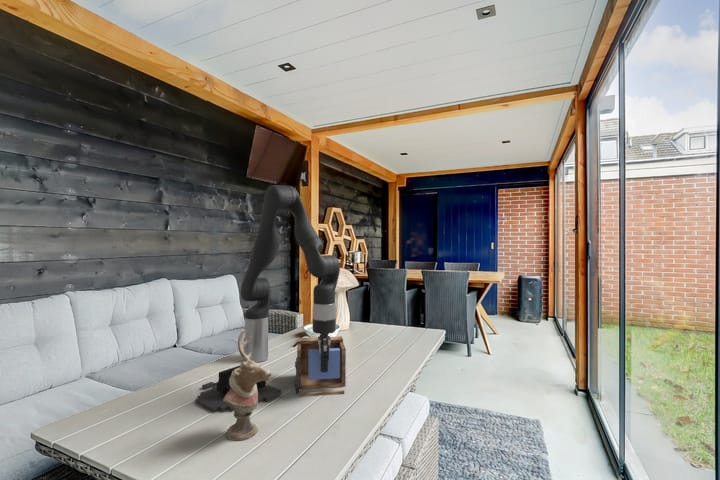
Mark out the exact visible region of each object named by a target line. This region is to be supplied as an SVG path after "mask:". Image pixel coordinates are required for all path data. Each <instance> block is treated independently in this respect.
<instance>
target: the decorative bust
mask: <svg viewBox="0 0 720 480" xmlns="http://www.w3.org/2000/svg"><path fill="white" fill-rule="evenodd" d="M244 336H245V330H244V331H241V332H240V333H239V335H238V342H237V348H238V351H239V354H240V356H241V357H242V359H243V361H242V362H241V363H240V365H239V366H240V367H239V368H237V369H235V370H233V371H232V374H231V377H230V379H229V384H230V386H231V389H230V390H229V392H228V393H227V394H226V396H225V397H224V399H223V401H224V402H227V403H230V404H232V405H233V407H234V411H233V412H234V413H233V417H234V418H235V419H236V421H235V423H233V424H232V425H230V426H229V427H228V429H227V431H226V435H227V437H228V438H229V439H230V440H233V441H245V440H249V439H251V438H253V437H254V436H255V435H256V434H257V433H258V432H259V426H258V425H257V423H255V422H253V421H251V417H250V416H252V414H253V412H254V411H255V410H256V409H257V408H258V404H259V403H258V390H257V385H256V383H257V382H260V381H262V380H263V381H266V382H269V381H270V379H271V378H272V373H271V371H270V370H269V369H266V368H264V367H261V366H260V362H254V361H253V360H250V358H252V357H251V354H252V353H253V352H250V353H249V354H248V355H246V354H245V353H244V347H245V345H246V344H247V343H248V342H249V341H250V339H251V338H252V336H250V337H249V338H247V339H246V340H245V342H244V341H243V339H244ZM242 341H243V342H242ZM244 360H245V362H244Z"/></svg>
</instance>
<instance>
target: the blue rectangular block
mask: <svg viewBox="0 0 720 480" xmlns="http://www.w3.org/2000/svg"><path fill="white" fill-rule="evenodd" d="M324 356H327V355H324ZM324 356H323V357H324ZM320 358H321V354H320V353H319V349H309V380H317V379H334V378H340V349H339V348H330V353H329V360H328V372H321V360H320Z"/></svg>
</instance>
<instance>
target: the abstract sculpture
mask: <svg viewBox="0 0 720 480" xmlns="http://www.w3.org/2000/svg"><path fill="white" fill-rule="evenodd" d="M239 367H240V365H237V366H234V367H231V368H228V369H224V370H222V371H219V372H218V381H216V382H213V381H210V382H206V383H205V384H202V385H201V389H202V390H203V391H201V392H200V393H199V395H197V398H195V402H194V403H195V404H196V405H197V406H200V407H201V408H203V409H205V410H207V411H210V412H211V413H212V414H215V413H217V411H218V412H220V413H222V412H223V413H225V412H226V411H228V412H230V413H232V412H234V407H233V405H232V404H230V403H227V402H224V401H223V399H224V397H225V396H226V394H227V393H228V392H229V390H230V389H231V386H230V384H229V379H230V377H231V374H232V371H233V370H235V369H237V368H239ZM256 385H257V390H258V404H259V403H263V402H265V403H269V402H271V401H274V400H276V399H279V398H280V397H281V394H282V390H281V389H280V388H278V387H276V386H273V385H270V384H267V381H263V380H262V381H260V382H257V383H256Z"/></svg>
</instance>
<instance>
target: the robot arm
mask: <svg viewBox="0 0 720 480" xmlns="http://www.w3.org/2000/svg"><path fill="white" fill-rule="evenodd" d="M261 210H262V211H261V217H260V223H259V226H258V230H257V234H256V236H255V240H254V243H253V247H252V252H251V256H250V259H249V263H248V266H247V269H246V272H245V274H244V276H243V280H242V282H241V286H240V298H241V299H242V300H243V301H244V302H256V303H255V304H254V305H253V306H252V307H250V308H248V309H247V310H245V311H244V331H245V332H244V336H243V342H245V340H246V339H247V338H249V337H250V336H252V338H251V339H250V341H249V342H248V343H247V344H246V345H245V347H244V349H243V351H244V353H245V354H246V355H248V354H249V353H250V352H253V353H252V354H251V357H252V358H250V360H253V361H254V362H255V363H260V362H265V361H266V360H268V358H269V312H270V300H271V285H270V284H271V283H270V281H269V279H268V278H266V277H259V276H260V275H261V273H262V272H264V271H265V270H266V269H267V268H268V267H269V266H270V265H271V264H272V263H273V261H275V259H276V258H277V255H278V252H279V249H280V246H281V238H280V235H279V233H278V230H277V228H276V227H277V226H276V218H277V215H278V213H279V212H290V213H291V215H292V216H293V217H294V237H295V239H296V242H297V244H298V246H299V247H300V249H301V251H302V253H303V255H304V260H305V263H306V268H307V270H308V272H309V274H311V276H313V277H315V278H317V279H319V278H322V279H321V282H320V283H318V284H316V285H315V286H314V287H313V292H312V293H313V295H312V296H313V302H312V303H313V304H312V305H313V306H312V332H313V333H314V334H317V335H319V336H317V337H318V344H319V353H320V354H321V358H320V360H321V372H328V360H329V353H330V343H331V338H330V337H331V336H330V335H329V334H333V333H335V332H336V330H337V329H336V328H337V326H336V325H337V310H336V309H337V308H336V288H337V286H338V285H337V284H338V282H339V276H340V273H341V272H340V271H341V265H340V261H339V259H338V258H337V257H336V256H335V255H332V254H330V255H329V254H326V255H325V254H324V255H323V254H321V252H322V251H323V249H324V244H323V242H322V240H321V238H320V237H319V235H318V234H317V231H316V230H315V229H314V227H313V225H312V222H311V221H310V219H309V216H308V214H307V211H306V208H305V206H304V203H303V201H302V198H301V196H300V193H299V192H298V191H297V189H296V188H295V187H294V186H291V185H283V184H280V185H279V184H277V185H276V184H273V185H269V187H267V189H266V191H265V194H264V199H263V204H262V209H261ZM324 355H327V356H324ZM323 356H324V357H323ZM243 362H245V360H244V359H243Z"/></svg>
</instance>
